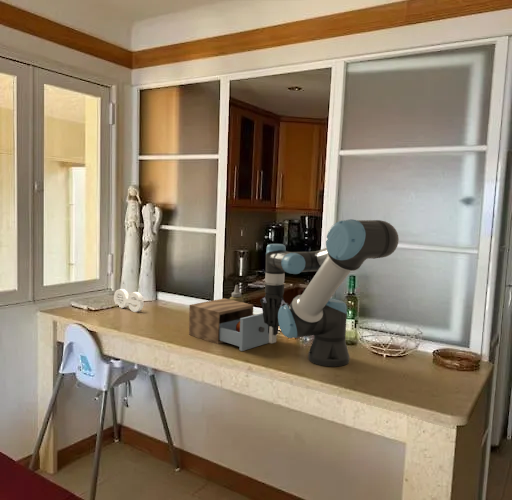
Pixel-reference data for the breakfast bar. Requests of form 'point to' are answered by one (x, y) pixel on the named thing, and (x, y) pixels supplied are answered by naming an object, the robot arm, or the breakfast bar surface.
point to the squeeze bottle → (236, 295)
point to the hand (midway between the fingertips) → (272, 342)
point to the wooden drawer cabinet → (215, 317)
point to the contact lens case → (129, 300)
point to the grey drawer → (245, 332)
